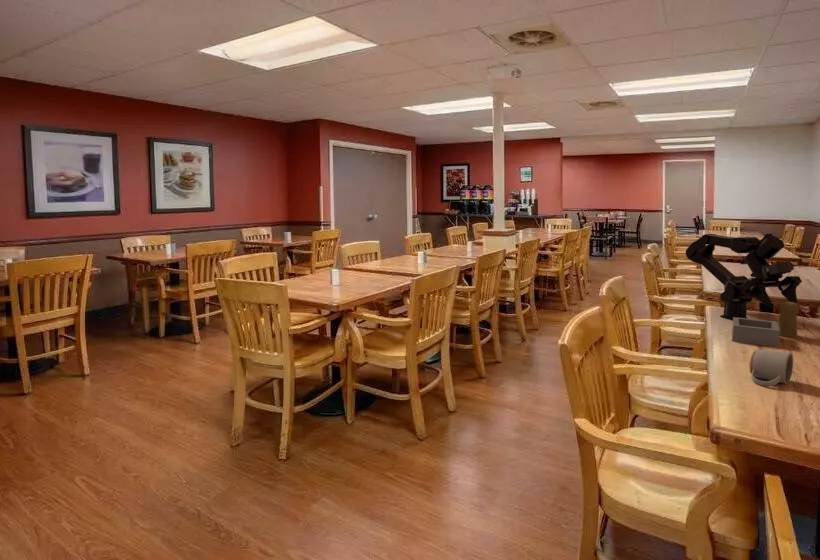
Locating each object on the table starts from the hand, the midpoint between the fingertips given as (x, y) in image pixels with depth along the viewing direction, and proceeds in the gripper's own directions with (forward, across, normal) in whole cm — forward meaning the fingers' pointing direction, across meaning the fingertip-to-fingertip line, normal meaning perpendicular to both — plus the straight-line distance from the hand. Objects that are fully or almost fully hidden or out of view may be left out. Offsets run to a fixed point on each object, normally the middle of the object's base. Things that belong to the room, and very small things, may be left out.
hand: (784, 306), depth 174 cm
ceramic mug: (+32, -38, -18) cm, 52 cm away
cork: (+8, 0, +5) cm, 10 cm away
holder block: (+9, -13, +4) cm, 16 cm away
